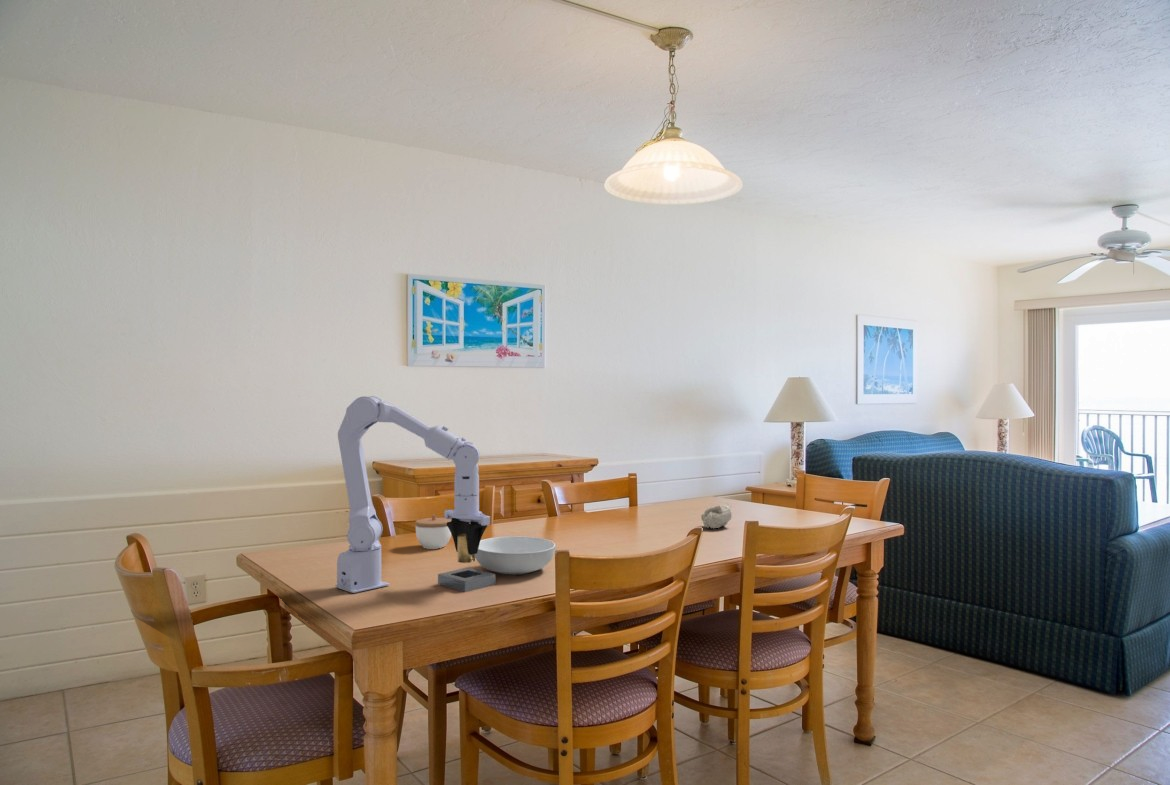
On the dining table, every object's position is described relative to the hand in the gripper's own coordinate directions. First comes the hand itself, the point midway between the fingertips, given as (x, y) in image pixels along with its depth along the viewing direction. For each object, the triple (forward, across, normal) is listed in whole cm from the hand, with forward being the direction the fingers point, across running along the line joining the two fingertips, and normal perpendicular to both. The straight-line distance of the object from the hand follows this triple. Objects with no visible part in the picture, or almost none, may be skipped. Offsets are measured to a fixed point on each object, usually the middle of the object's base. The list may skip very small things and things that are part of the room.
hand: (466, 552), depth 176 cm
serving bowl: (+8, +2, -17) cm, 19 cm away
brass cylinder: (+2, 0, 0) cm, 2 cm away
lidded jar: (+8, +41, -21) cm, 47 cm away
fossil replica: (+8, -3, -104) cm, 104 cm away
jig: (+8, 0, 0) cm, 8 cm away
